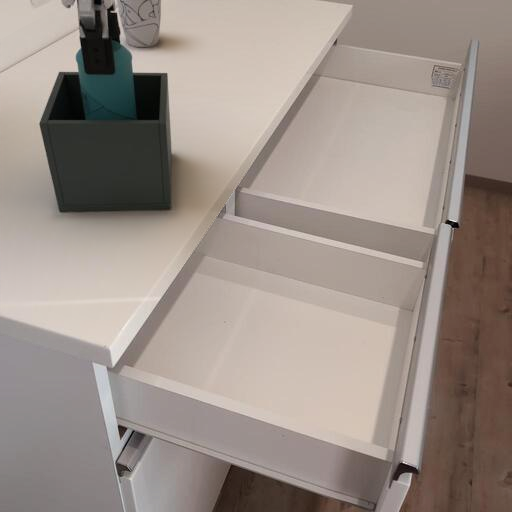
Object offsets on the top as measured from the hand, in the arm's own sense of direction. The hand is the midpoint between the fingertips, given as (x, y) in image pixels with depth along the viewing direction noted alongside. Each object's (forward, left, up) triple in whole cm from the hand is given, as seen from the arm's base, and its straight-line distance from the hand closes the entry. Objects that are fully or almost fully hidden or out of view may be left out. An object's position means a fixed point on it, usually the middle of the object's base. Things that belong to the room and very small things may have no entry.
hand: (103, 58), depth 62 cm
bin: (0, 0, -16) cm, 16 cm away
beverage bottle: (0, 0, -15) cm, 15 cm away
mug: (0, +51, -17) cm, 54 cm away
